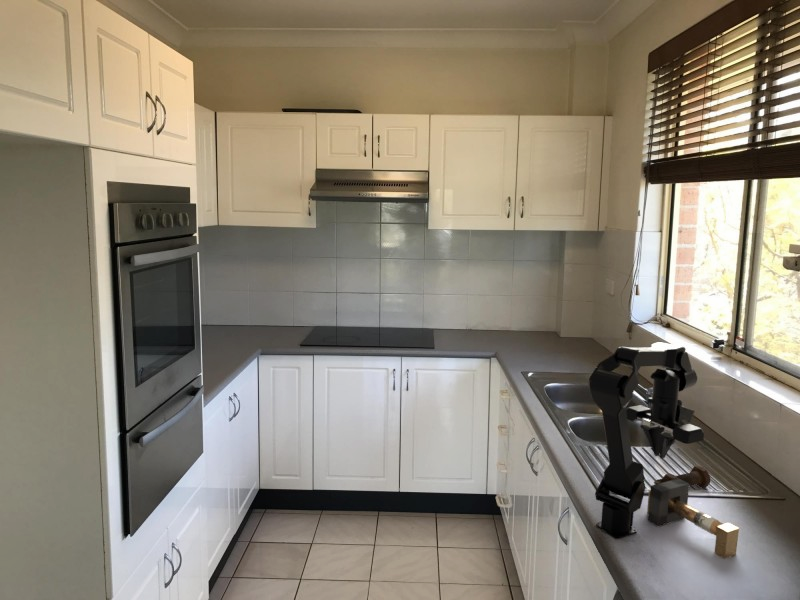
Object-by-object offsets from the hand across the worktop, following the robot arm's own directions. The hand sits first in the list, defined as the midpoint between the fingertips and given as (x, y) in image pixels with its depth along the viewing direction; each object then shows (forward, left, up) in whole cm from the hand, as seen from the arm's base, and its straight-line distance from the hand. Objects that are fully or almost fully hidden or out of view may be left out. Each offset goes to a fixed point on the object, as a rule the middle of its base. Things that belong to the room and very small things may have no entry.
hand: (659, 456), depth 147 cm
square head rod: (-4, -12, -12) cm, 18 cm away
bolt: (+13, +4, -13) cm, 18 cm away
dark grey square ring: (-4, -6, -12) cm, 15 cm away
